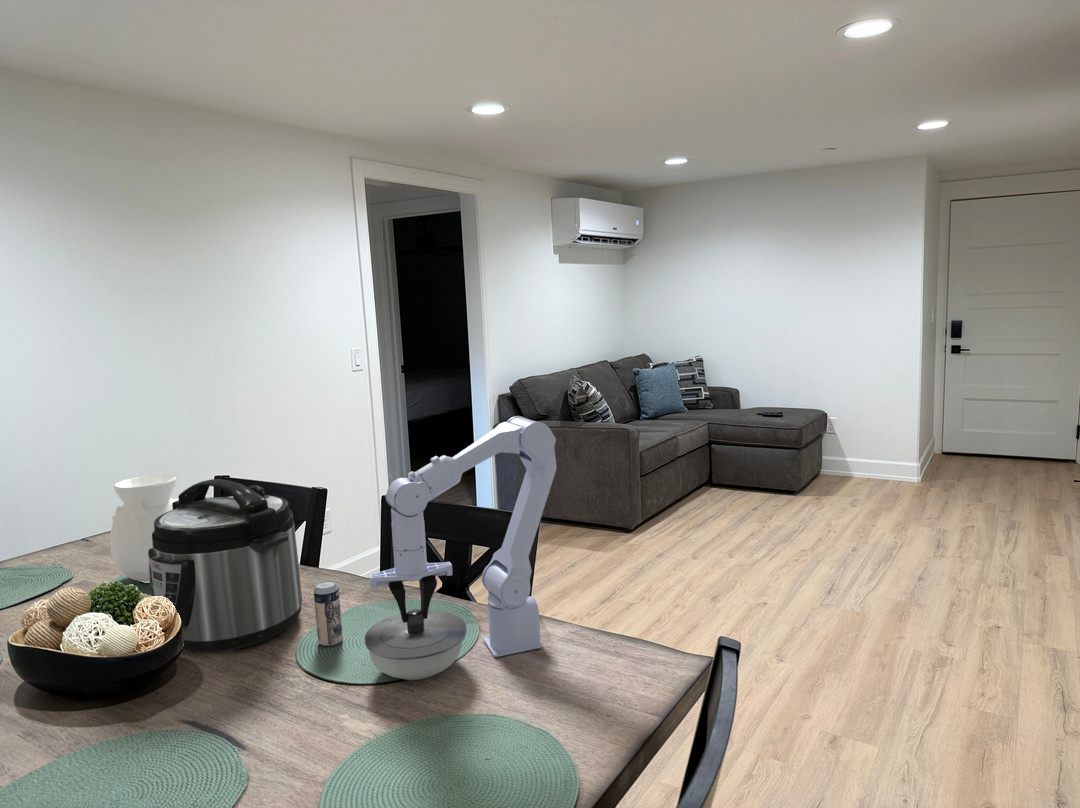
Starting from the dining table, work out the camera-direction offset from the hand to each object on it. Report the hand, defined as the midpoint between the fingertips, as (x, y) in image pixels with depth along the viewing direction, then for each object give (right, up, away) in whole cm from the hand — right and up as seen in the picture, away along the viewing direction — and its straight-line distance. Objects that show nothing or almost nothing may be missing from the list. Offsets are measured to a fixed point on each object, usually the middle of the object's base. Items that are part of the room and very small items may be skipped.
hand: (414, 618), depth 134 cm
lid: (0, -3, 0) cm, 3 cm away
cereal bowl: (0, -10, +1) cm, 10 cm away
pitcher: (-74, -5, +53) cm, 91 cm away
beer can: (-19, -9, +14) cm, 25 cm away
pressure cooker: (-41, -9, +21) cm, 47 cm away
